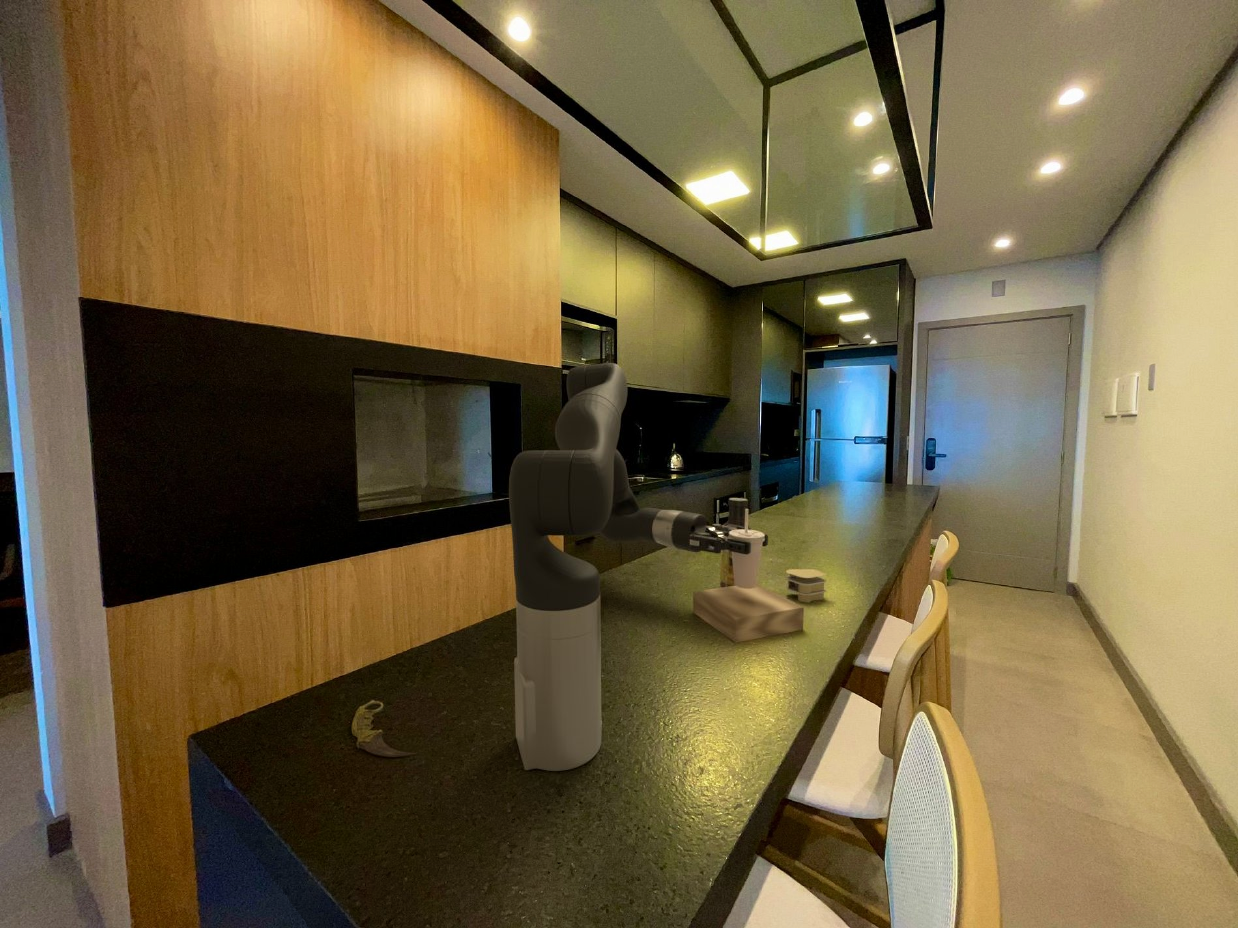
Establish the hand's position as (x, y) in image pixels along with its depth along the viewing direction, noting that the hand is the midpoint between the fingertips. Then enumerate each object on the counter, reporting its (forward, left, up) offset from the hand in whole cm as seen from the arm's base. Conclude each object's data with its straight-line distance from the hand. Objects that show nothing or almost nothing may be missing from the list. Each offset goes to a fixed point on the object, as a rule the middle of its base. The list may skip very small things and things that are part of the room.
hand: (758, 544), depth 86 cm
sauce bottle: (+7, +17, -15) cm, 24 cm away
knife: (-61, -9, -15) cm, 63 cm away
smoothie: (-1, +2, -8) cm, 9 cm away
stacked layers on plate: (+17, +7, -15) cm, 24 cm away
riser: (-1, +2, -15) cm, 15 cm away
